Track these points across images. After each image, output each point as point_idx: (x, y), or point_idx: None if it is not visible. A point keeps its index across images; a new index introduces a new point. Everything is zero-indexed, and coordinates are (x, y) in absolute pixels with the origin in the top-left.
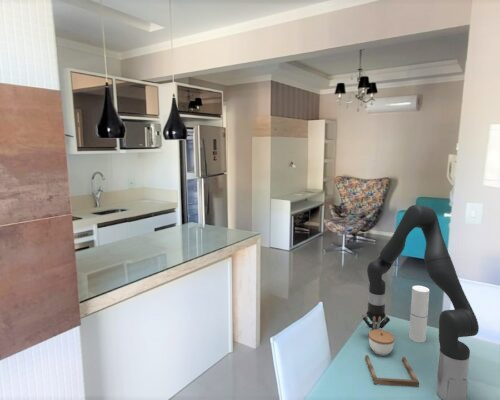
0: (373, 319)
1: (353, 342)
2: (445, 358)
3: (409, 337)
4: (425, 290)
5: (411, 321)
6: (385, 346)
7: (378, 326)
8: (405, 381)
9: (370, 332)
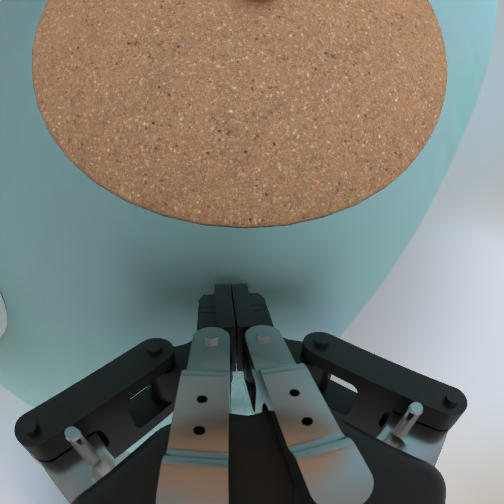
0: (335, 442)
1: (411, 210)
2: None
3: (1, 302)
4: None
5: None
6: None
7: (203, 355)
8: None
9: (431, 100)
